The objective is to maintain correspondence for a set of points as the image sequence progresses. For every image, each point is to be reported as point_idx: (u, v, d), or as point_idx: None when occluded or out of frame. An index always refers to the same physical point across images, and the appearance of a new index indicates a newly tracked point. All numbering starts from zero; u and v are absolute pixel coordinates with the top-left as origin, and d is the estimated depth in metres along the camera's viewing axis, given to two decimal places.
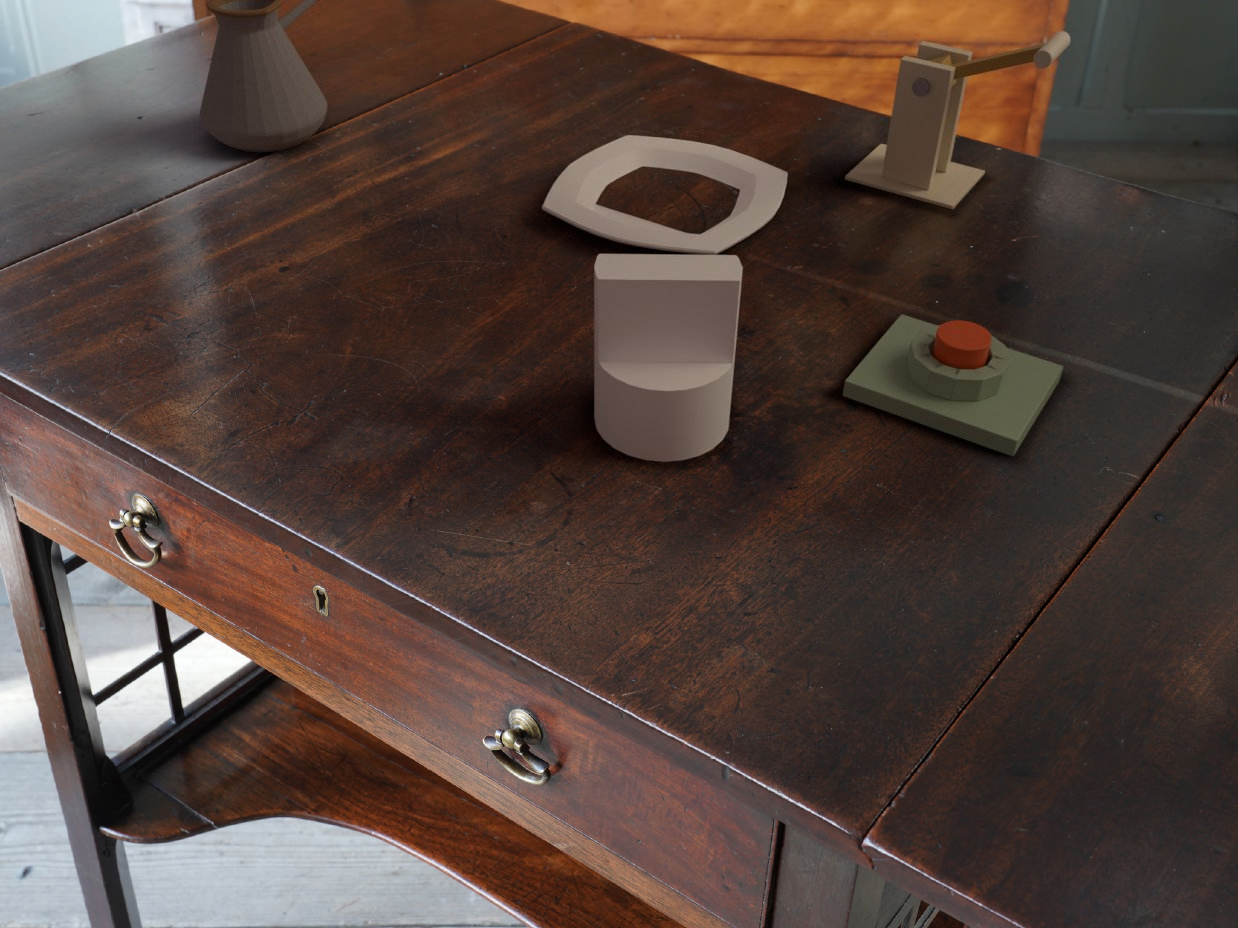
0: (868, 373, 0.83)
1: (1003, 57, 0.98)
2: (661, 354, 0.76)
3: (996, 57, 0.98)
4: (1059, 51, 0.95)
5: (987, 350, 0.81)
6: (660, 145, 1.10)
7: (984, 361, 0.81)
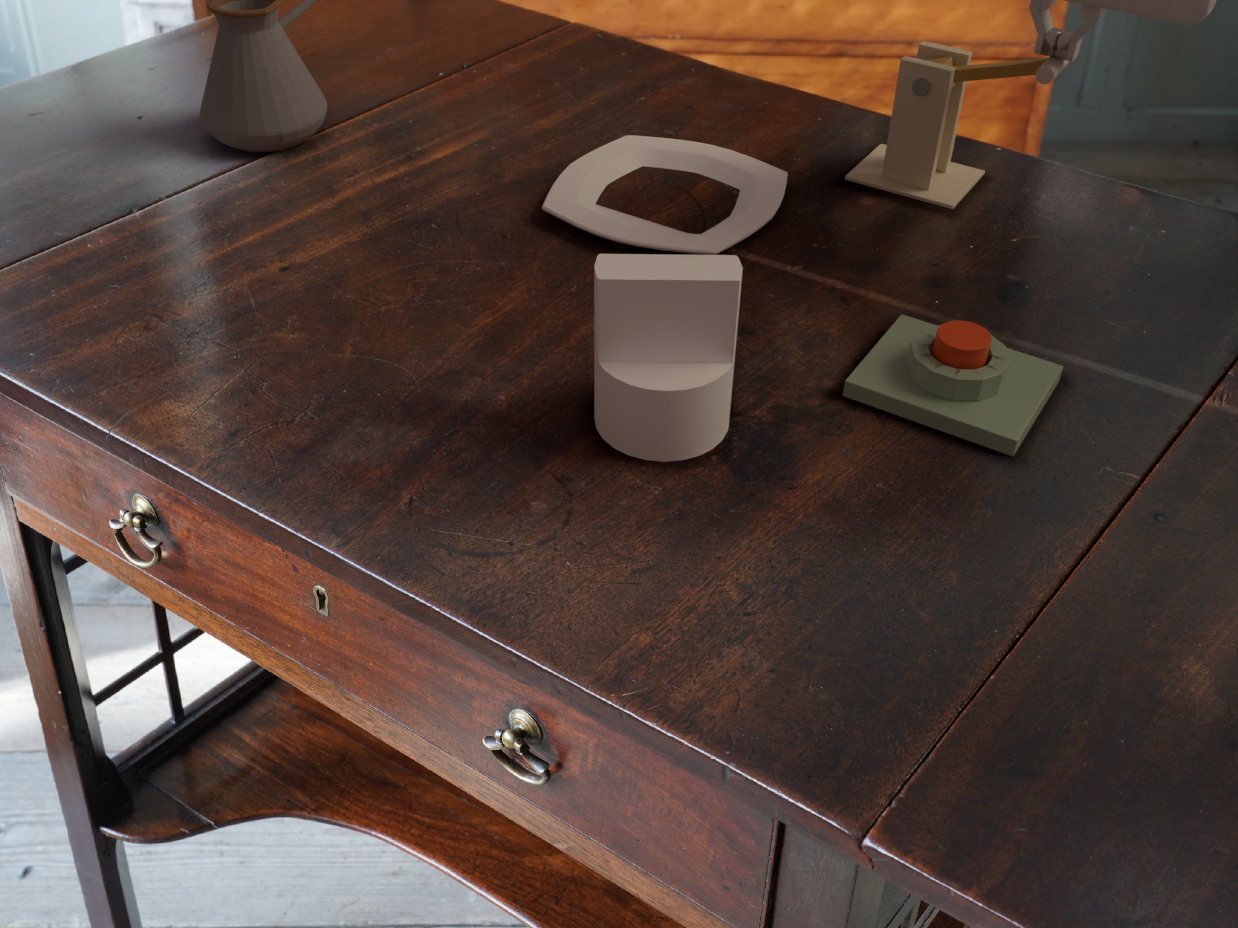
0: (868, 373, 0.83)
1: (1005, 67, 0.98)
2: (661, 354, 0.76)
3: (998, 66, 0.98)
4: (1061, 68, 0.96)
5: (987, 350, 0.81)
6: (660, 145, 1.10)
7: (984, 361, 0.81)
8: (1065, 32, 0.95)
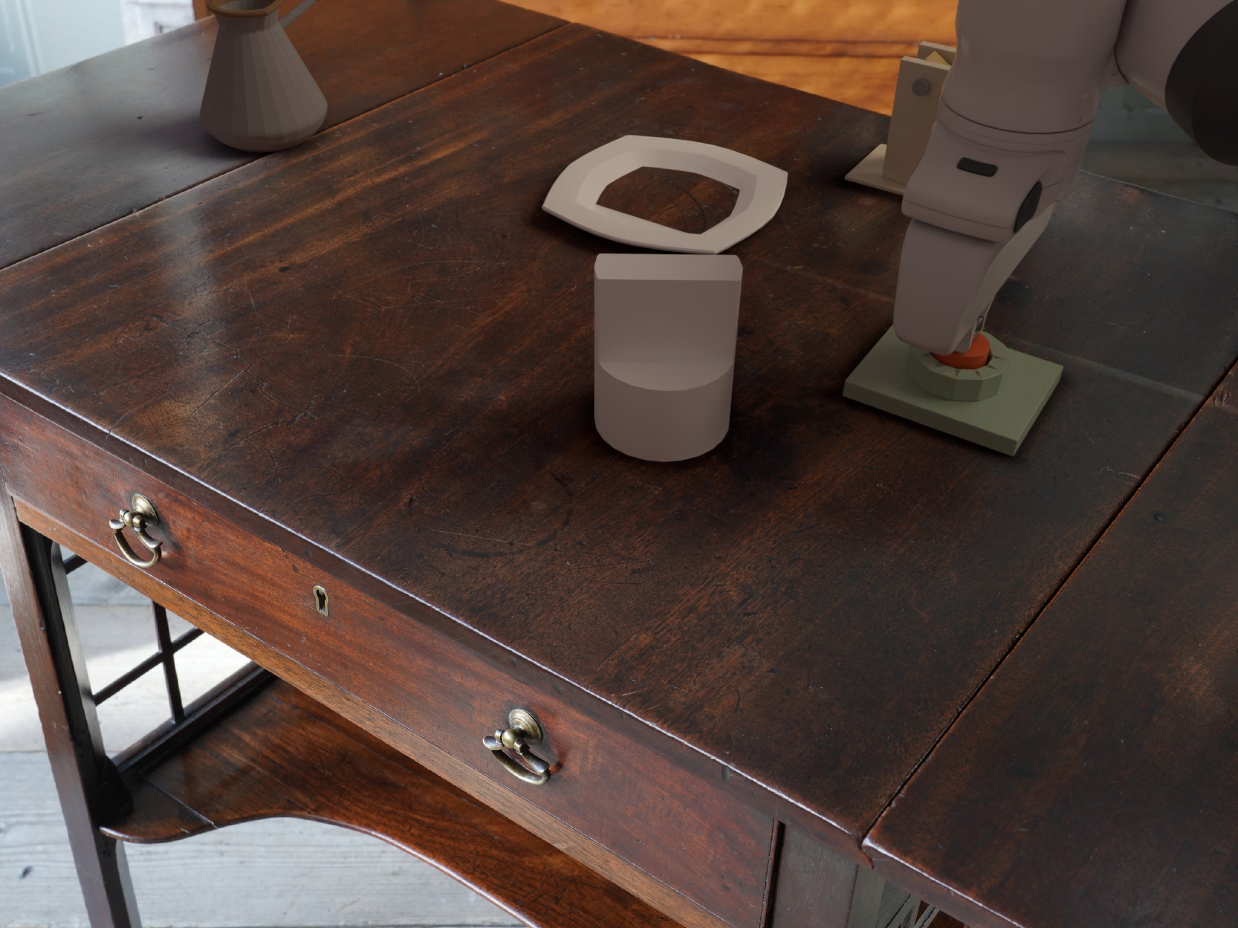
0: (868, 373, 0.83)
1: None
2: (661, 354, 0.76)
3: None
4: None
5: (985, 356, 0.81)
6: (660, 145, 1.10)
7: None
8: None
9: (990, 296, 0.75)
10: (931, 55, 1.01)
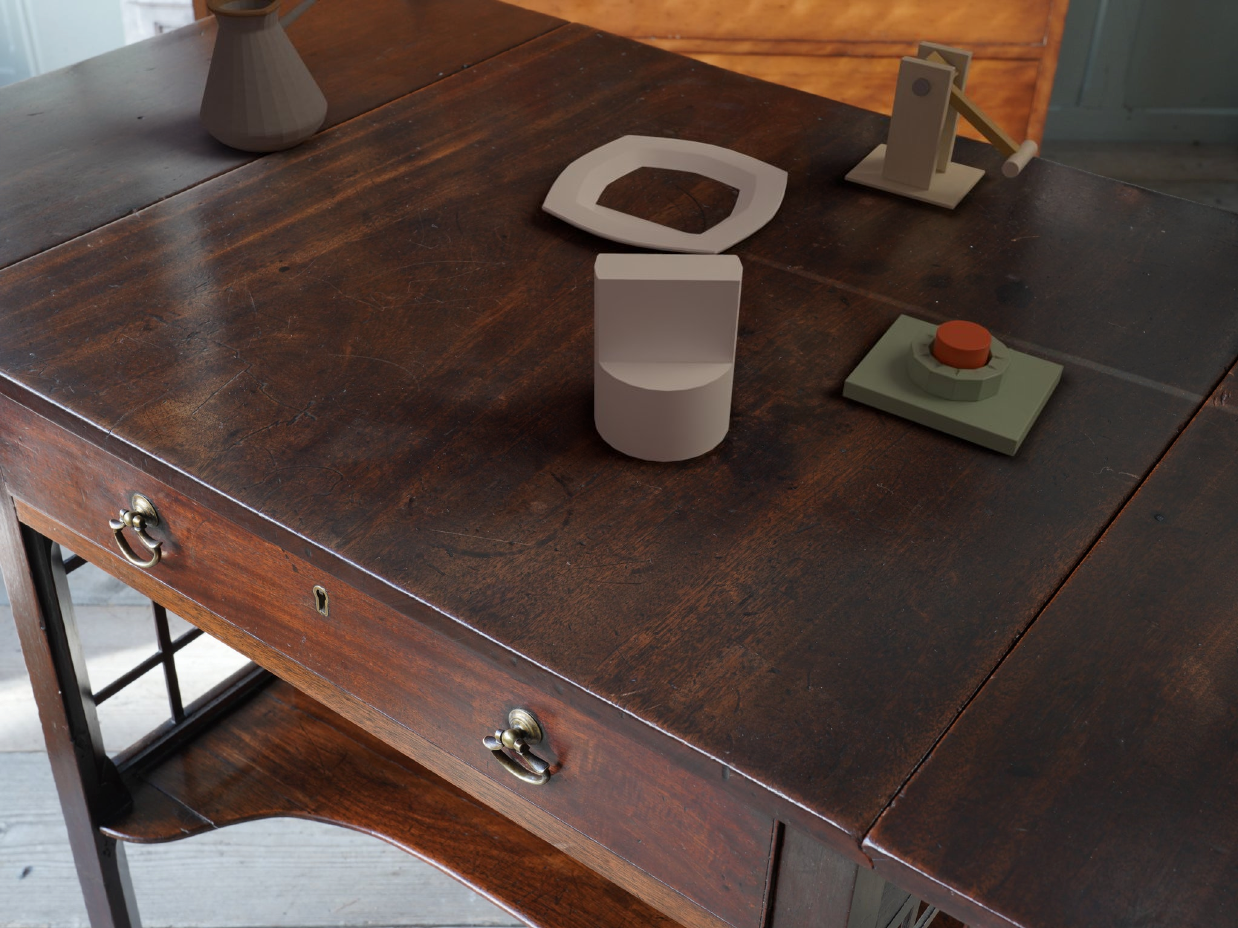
0: (868, 373, 0.83)
1: (988, 128, 1.01)
2: (661, 354, 0.76)
3: (984, 121, 1.01)
4: None
5: (987, 350, 0.81)
6: (660, 145, 1.10)
7: (984, 361, 0.81)
8: None
9: None
10: (931, 55, 1.01)
